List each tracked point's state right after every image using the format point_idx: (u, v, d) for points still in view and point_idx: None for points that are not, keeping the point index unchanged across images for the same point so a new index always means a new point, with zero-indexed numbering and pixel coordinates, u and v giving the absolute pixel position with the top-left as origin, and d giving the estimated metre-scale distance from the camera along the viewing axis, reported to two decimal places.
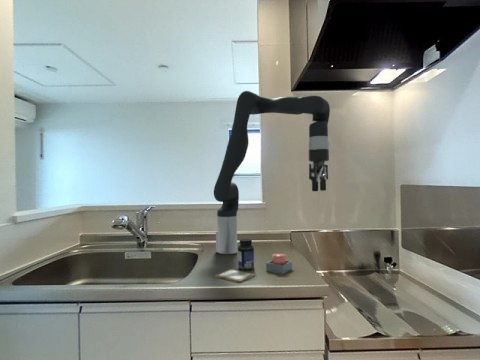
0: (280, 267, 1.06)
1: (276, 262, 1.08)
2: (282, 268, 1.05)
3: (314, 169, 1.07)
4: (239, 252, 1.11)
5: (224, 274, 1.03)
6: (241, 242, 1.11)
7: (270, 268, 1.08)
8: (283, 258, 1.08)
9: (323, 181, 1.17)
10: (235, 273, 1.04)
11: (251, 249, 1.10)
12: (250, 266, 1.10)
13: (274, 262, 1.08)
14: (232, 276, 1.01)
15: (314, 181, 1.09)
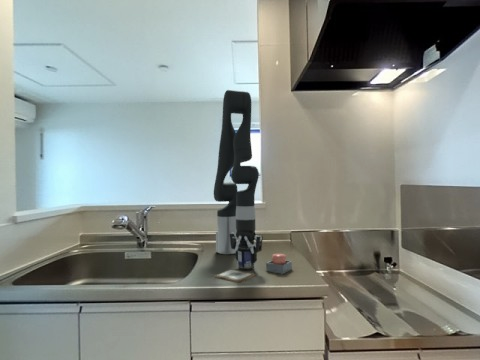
0: (280, 267, 1.06)
1: (276, 262, 1.08)
2: (282, 268, 1.05)
3: (261, 242, 1.09)
4: (239, 252, 1.11)
5: (224, 274, 1.03)
6: (241, 242, 1.11)
7: (270, 268, 1.08)
8: (283, 258, 1.08)
9: None
10: (235, 273, 1.04)
11: None
12: (250, 266, 1.10)
13: (274, 262, 1.08)
14: (232, 276, 1.01)
15: (256, 253, 1.10)
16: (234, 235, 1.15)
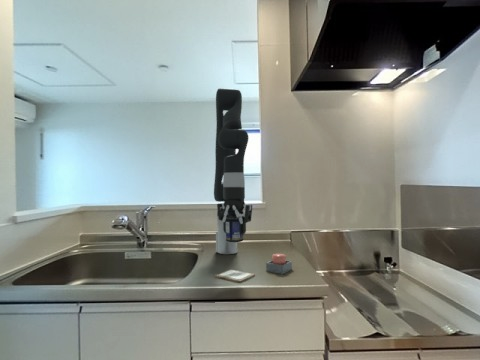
0: (280, 267, 1.06)
1: (276, 262, 1.08)
2: (282, 268, 1.05)
3: (251, 211, 1.00)
4: (227, 223, 1.02)
5: (224, 274, 1.03)
6: (229, 212, 1.02)
7: (270, 268, 1.08)
8: (283, 258, 1.08)
9: None
10: (235, 273, 1.04)
11: None
12: (239, 238, 1.01)
13: (274, 262, 1.08)
14: (232, 276, 1.01)
15: (245, 223, 1.01)
16: (222, 205, 1.06)
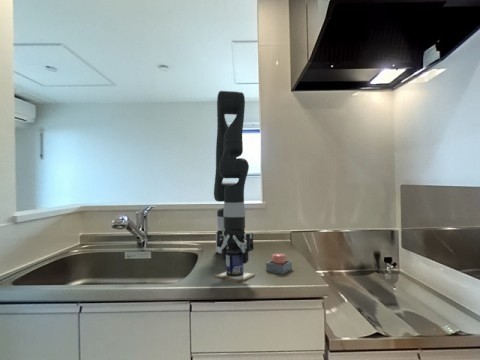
0: (280, 267, 1.06)
1: (276, 262, 1.08)
2: (282, 268, 1.05)
3: (252, 239, 1.00)
4: (227, 256, 1.02)
5: (224, 274, 1.03)
6: (229, 245, 1.02)
7: (270, 268, 1.08)
8: (283, 258, 1.08)
9: (226, 249, 1.06)
10: None
11: (240, 253, 1.01)
12: (239, 272, 1.01)
13: (274, 262, 1.08)
14: (232, 276, 1.01)
15: (247, 252, 1.00)
16: (222, 233, 1.06)
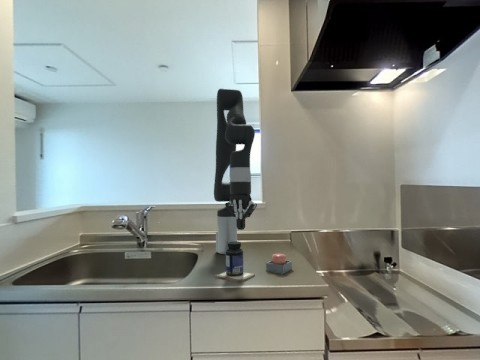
0: (280, 267, 1.06)
1: (276, 262, 1.08)
2: (282, 268, 1.05)
3: (253, 210, 1.02)
4: (227, 256, 1.01)
5: (224, 274, 1.03)
6: (229, 245, 1.02)
7: (270, 268, 1.08)
8: (283, 258, 1.08)
9: None
10: None
11: (240, 253, 1.01)
12: (239, 272, 1.01)
13: (274, 262, 1.08)
14: (232, 276, 1.01)
15: (244, 219, 1.04)
16: (230, 203, 1.07)
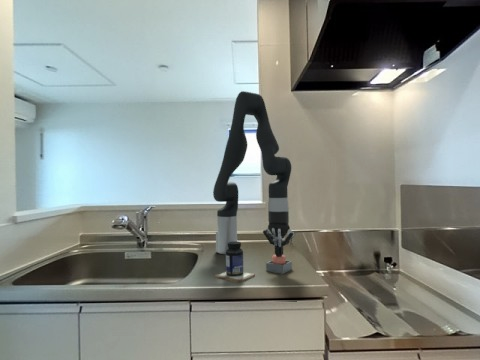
0: (280, 267, 1.06)
1: (276, 263, 1.08)
2: (282, 268, 1.05)
3: (291, 238, 1.08)
4: (227, 256, 1.01)
5: (224, 274, 1.03)
6: (229, 245, 1.02)
7: (270, 268, 1.08)
8: (283, 259, 1.08)
9: None
10: None
11: (240, 253, 1.01)
12: (239, 272, 1.01)
13: (274, 263, 1.08)
14: (232, 276, 1.01)
15: (282, 246, 1.09)
16: (267, 230, 1.12)
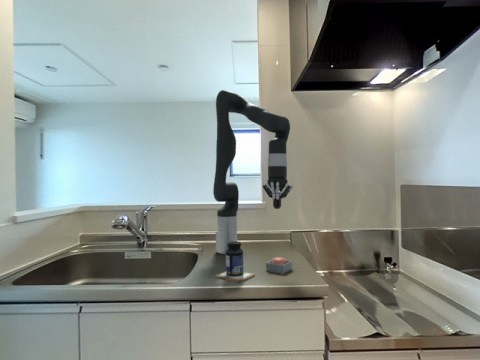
0: (280, 267, 1.06)
1: None
2: (282, 268, 1.05)
3: (289, 191, 1.16)
4: (227, 256, 1.01)
5: (224, 274, 1.03)
6: (229, 245, 1.02)
7: (270, 268, 1.08)
8: (283, 262, 1.08)
9: None
10: None
11: (240, 253, 1.01)
12: (239, 272, 1.01)
13: None
14: (232, 276, 1.01)
15: (280, 199, 1.17)
16: (267, 185, 1.20)
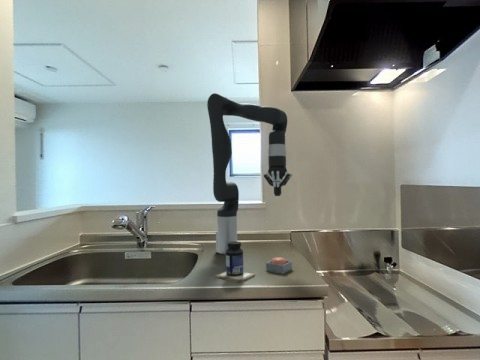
0: (280, 267, 1.06)
1: None
2: (282, 268, 1.05)
3: (288, 179, 1.24)
4: (227, 256, 1.01)
5: (224, 274, 1.03)
6: (229, 245, 1.02)
7: (270, 268, 1.08)
8: (283, 262, 1.08)
9: None
10: None
11: (240, 253, 1.01)
12: (239, 272, 1.01)
13: None
14: (232, 276, 1.01)
15: (280, 187, 1.25)
16: (267, 174, 1.28)
